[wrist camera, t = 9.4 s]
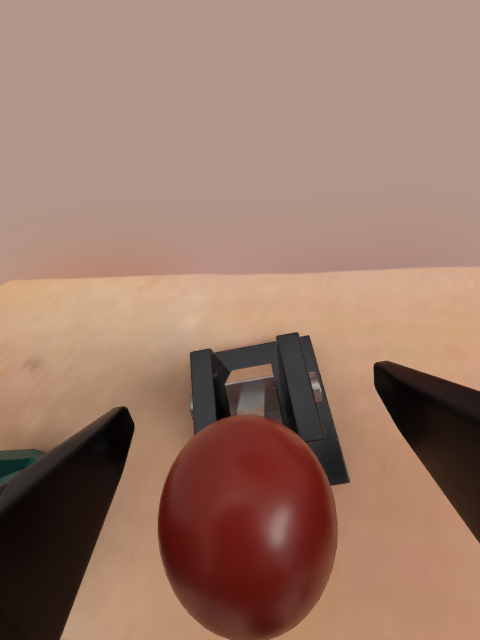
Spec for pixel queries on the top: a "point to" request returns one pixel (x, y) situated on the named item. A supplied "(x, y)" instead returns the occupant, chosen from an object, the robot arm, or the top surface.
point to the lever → (248, 518)
